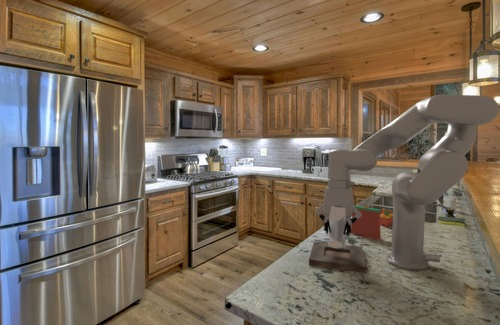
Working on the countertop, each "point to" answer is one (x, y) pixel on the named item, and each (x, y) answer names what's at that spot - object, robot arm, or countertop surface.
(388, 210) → the toy building block set
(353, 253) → the coaster board
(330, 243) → the beer glass
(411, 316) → the countertop surface
